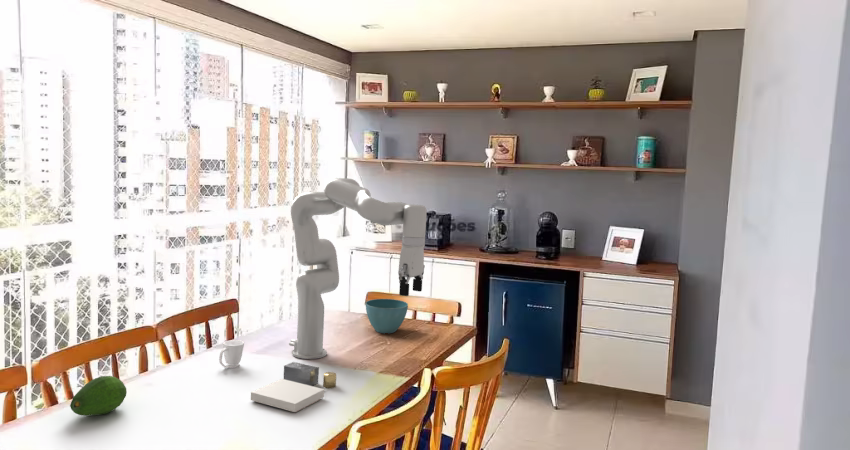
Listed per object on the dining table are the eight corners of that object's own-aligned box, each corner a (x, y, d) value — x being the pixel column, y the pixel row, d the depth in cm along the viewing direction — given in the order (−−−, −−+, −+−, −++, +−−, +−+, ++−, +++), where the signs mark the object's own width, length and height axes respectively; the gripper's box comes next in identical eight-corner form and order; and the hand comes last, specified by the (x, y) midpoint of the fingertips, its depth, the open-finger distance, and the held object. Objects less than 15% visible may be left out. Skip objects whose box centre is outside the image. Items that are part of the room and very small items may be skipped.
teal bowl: (405, 338, 258) (407, 309, 257) (362, 335, 258) (363, 306, 257) (407, 327, 276) (408, 300, 275) (366, 324, 276) (368, 297, 275)
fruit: (85, 428, 157) (85, 390, 156) (59, 420, 161) (59, 383, 160) (134, 408, 171) (135, 373, 170) (109, 401, 175) (109, 367, 174)
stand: (250, 402, 180) (250, 392, 180) (281, 388, 193) (282, 378, 193) (294, 414, 173) (295, 403, 173) (323, 398, 186) (324, 389, 186)
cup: (248, 364, 213) (248, 341, 213) (228, 372, 204) (228, 348, 203) (231, 361, 216) (232, 338, 215) (211, 369, 207) (212, 345, 206)
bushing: (320, 386, 196) (321, 374, 196) (327, 383, 200) (328, 371, 199) (331, 389, 194) (331, 376, 194) (338, 385, 198) (338, 373, 198)
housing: (283, 382, 198) (284, 365, 198) (292, 378, 202) (293, 361, 202) (309, 388, 194) (310, 371, 194) (318, 384, 198) (318, 367, 198)
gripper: (414, 238, 213) (412, 287, 215) (390, 243, 197) (388, 295, 199) (434, 241, 210) (431, 290, 211) (411, 245, 194) (409, 299, 196)
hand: (410, 293), depth 205 cm, fingers open, 9 cm apart
